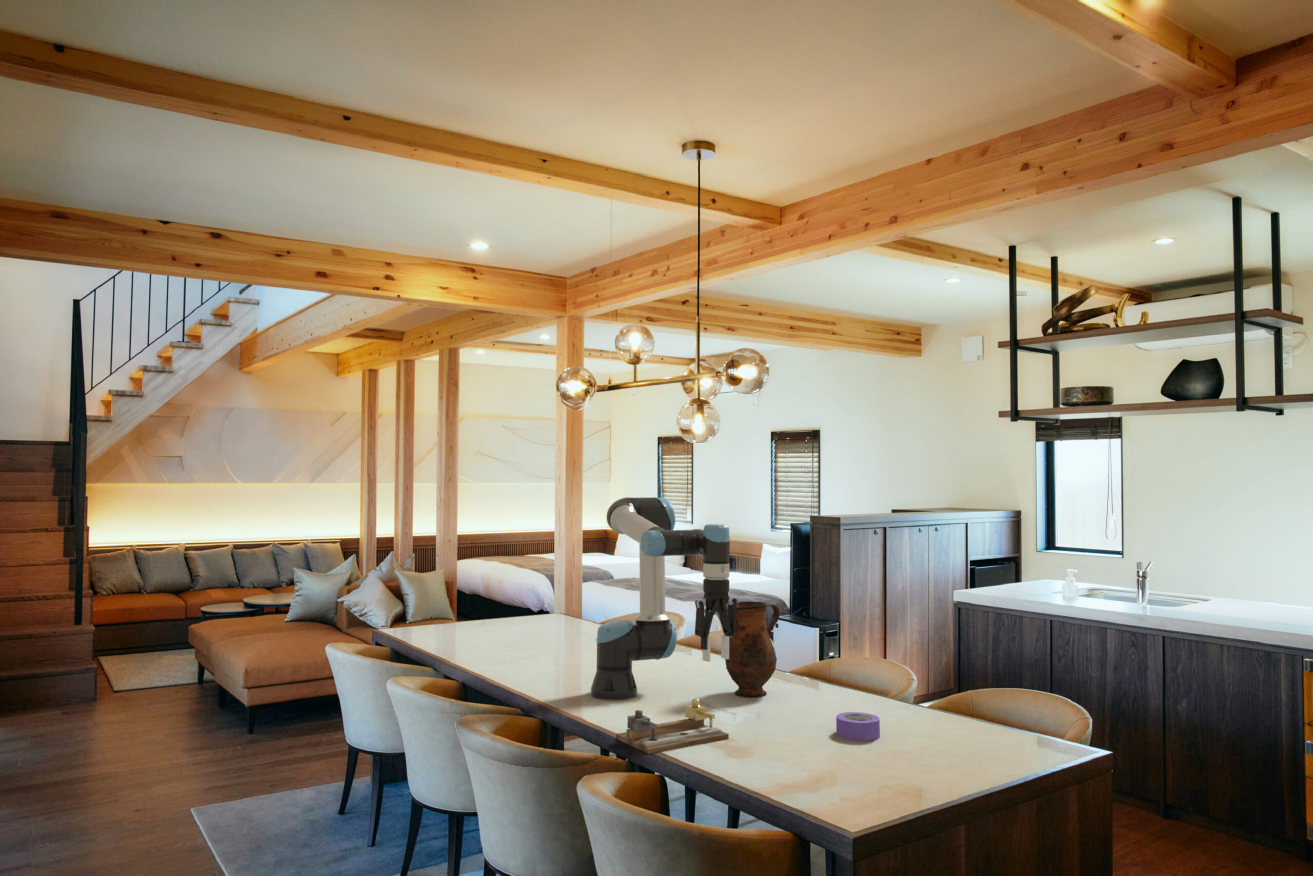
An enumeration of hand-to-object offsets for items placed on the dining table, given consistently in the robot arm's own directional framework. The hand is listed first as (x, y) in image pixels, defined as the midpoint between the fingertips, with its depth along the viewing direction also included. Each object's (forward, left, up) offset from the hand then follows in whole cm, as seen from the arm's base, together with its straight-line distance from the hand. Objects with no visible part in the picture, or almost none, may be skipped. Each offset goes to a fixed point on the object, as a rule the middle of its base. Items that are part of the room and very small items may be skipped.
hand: (715, 659), depth 243 cm
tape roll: (+27, +29, -19) cm, 44 cm away
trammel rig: (+3, -17, -19) cm, 26 cm away
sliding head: (+3, -7, -16) cm, 18 cm away
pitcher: (-25, +36, -19) cm, 48 cm away
